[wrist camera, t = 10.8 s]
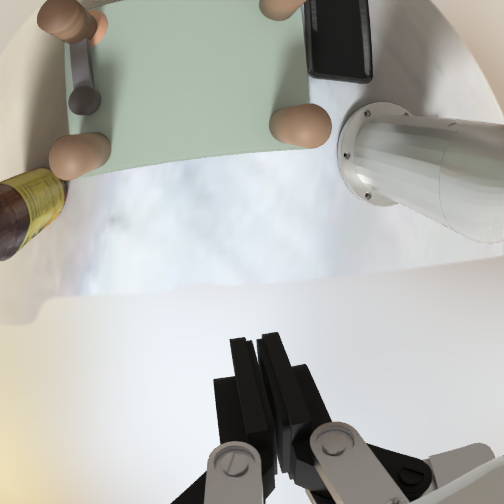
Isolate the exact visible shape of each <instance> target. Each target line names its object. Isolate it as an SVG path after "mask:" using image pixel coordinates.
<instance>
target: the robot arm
mask: <svg viewBox="0 0 504 504" xmlns="http://www.w3.org/2000/svg"><path fill="white" fill-rule="evenodd" d="M364 112H365V115H364ZM344 153H345V154H346V155H345V157H344ZM337 158H338V164H339V169H340V172H341V175H342V178H343V180H344V181H345V183H346V185H347V187H348V188H349V189H350V190H351V191H352V193H353V194H355V195H356V196H357V197H358V198H359V199H361V200H363V201H365V202H366V203H369V204H372V205H374V206H381V207H386V206H393V205H396V204H399V203H400V204H402V205H404V206H406V207H408V208H410V209H412V210H414V211H416V212H418V213H420V214H422V215H424V216H426V217H428V218H430V219H432V220H434V221H436V222H438V223H440V224H442V225H444V226H446V227H448V228H450V229H451V230H453V231H455V232H457V233H459V234H461V235H463V236H465V237H467V238H469V239H471V240H473V241H476V242H479V243H486V244H492V243H498V242H501V241H504V125H501V124H494V123H486V122H478V121H470V120H460V119H450V118H438V117H424V116H413V115H412V114H411V113H410V112H409V111H408V110H406V109H405V108H403V107H401V106H399V105H397V104H394V103H389V102H376V103H370V104H368V105H365V106H363V107H361V108H360V109H358V110H357V111H355V112H354V113H353V114H352V115H351V116H350V118H349V119H348V120H347V122H346V123H345V125H344V127H343V129H342V132H341V134H340V137H339V142H338V155H337ZM365 194H366V196H365ZM230 346H231V353H232V359H233V366H234V372H235V376H233V377H226V378H218V379H214V391H215V401H216V410H217V418H218V428H219V436H220V444H221V445H219V446H218V447H217V448H215V449H214V450H213V451H212V453H211V454H210V456H209V459H208V464H207V471H206V472H205V473H204V474H203V475H202V476H201V477H199V478H198V479H197V480H196V481H195V482H194V483H193V484H192V485H191V486H190V487H189V488H187V489H186V490H185V491H184V492H183V493H182V494H181V495H180V496H179V497H178V498H176V499H175V500H174V501H173V502H172V503H171V504H266V498H267V497H268V496H269V495H270V494H271V492H272V491H273V490H274V488H275V478H274V475H276V474H277V457H278V461H279V464H280V468H281V471H282V473H286V472H288V474H289V478H290V479H294V482H295V484H296V485H298V486H301V487H303V488H305V491H306V493H307V495H308V497H309V499H310V501H311V503H312V504H504V455H503V456H500V457H497V458H495V456H494V453H493V451H492V450H491V448H490V447H488V446H487V445H485V444H482V443H475V444H471V445H468V446H465V447H462V448H459V449H455V450H452V451H448V452H444V453H440V454H436V455H432V456H429V458H428V459H425V460H420V459H417V458H414V457H410V456H407V455H403V454H400V453H396V452H393V451H390V450H386V449H383V448H380V447H377V446H374V445H371V444H368V443H365V441H364V440H363V439H362V437H361V436H360V435H359V433H358V432H357V431H356V430H355V429H354V428H353V427H352V426H350V425H348V424H346V423H342V422H332V420H331V418H330V416H329V414H328V411H327V409H326V407H325V405H324V403H323V400H322V398H321V396H320V393H319V391H318V389H317V387H316V384H315V382H314V380H313V378H312V376H311V373H310V371H309V369H308V367H307V365H306V364H302V365H297V366H292V367H291V364H290V362H289V359H288V356H287V354H286V351H285V349H284V346H283V344H282V341H281V338H280V336H279V333H278V332H274V333H268V334H262V339H257V353H258V361H257V357H256V353H255V350H254V346H253V343H252V340H250V341H246V338H245V337H242V338H235V339H230ZM258 364H259V365H258Z"/></svg>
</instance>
